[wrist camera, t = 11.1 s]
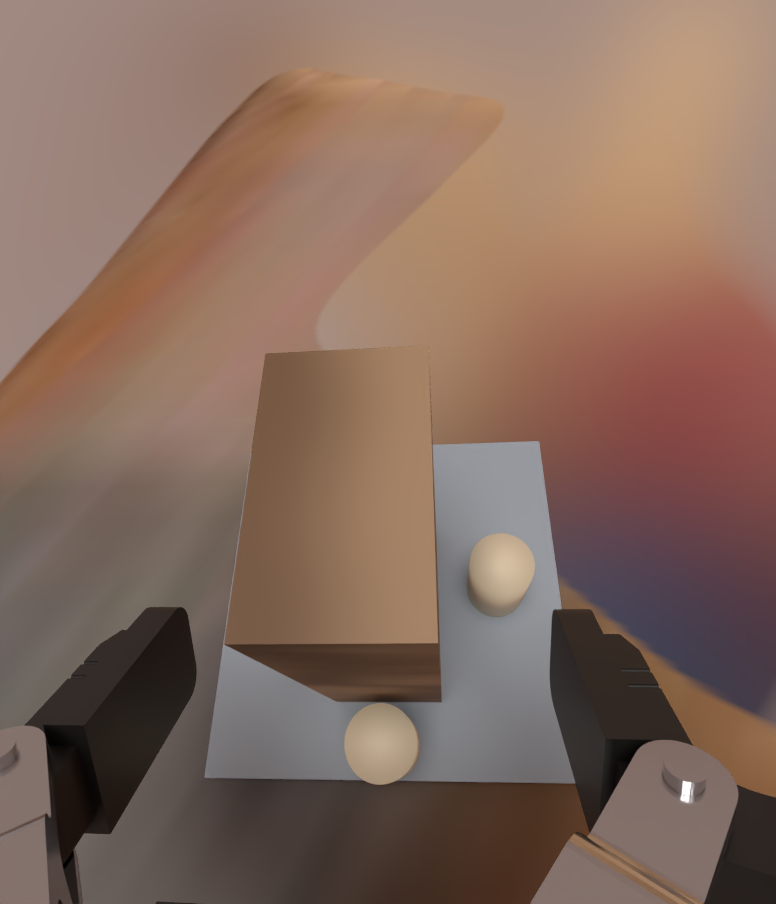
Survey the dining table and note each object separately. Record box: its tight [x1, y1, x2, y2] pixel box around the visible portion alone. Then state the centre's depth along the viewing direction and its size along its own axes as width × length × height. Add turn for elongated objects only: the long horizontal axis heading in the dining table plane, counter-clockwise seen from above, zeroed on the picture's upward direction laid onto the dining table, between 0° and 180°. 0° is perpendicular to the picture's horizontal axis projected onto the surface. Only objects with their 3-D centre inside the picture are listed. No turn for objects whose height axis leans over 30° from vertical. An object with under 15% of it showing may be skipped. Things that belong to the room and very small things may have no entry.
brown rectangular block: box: [224, 346, 442, 702], centre depth 15 cm, size 4×6×11 cm, turn 0°
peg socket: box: [204, 441, 575, 785], centre depth 20 cm, size 12×12×4 cm
